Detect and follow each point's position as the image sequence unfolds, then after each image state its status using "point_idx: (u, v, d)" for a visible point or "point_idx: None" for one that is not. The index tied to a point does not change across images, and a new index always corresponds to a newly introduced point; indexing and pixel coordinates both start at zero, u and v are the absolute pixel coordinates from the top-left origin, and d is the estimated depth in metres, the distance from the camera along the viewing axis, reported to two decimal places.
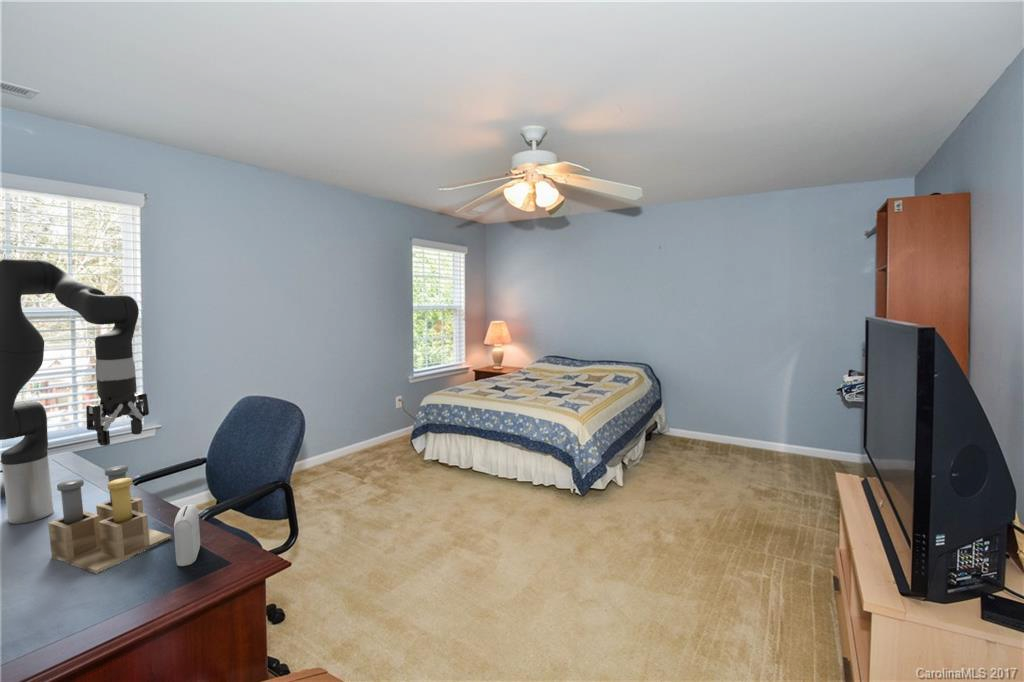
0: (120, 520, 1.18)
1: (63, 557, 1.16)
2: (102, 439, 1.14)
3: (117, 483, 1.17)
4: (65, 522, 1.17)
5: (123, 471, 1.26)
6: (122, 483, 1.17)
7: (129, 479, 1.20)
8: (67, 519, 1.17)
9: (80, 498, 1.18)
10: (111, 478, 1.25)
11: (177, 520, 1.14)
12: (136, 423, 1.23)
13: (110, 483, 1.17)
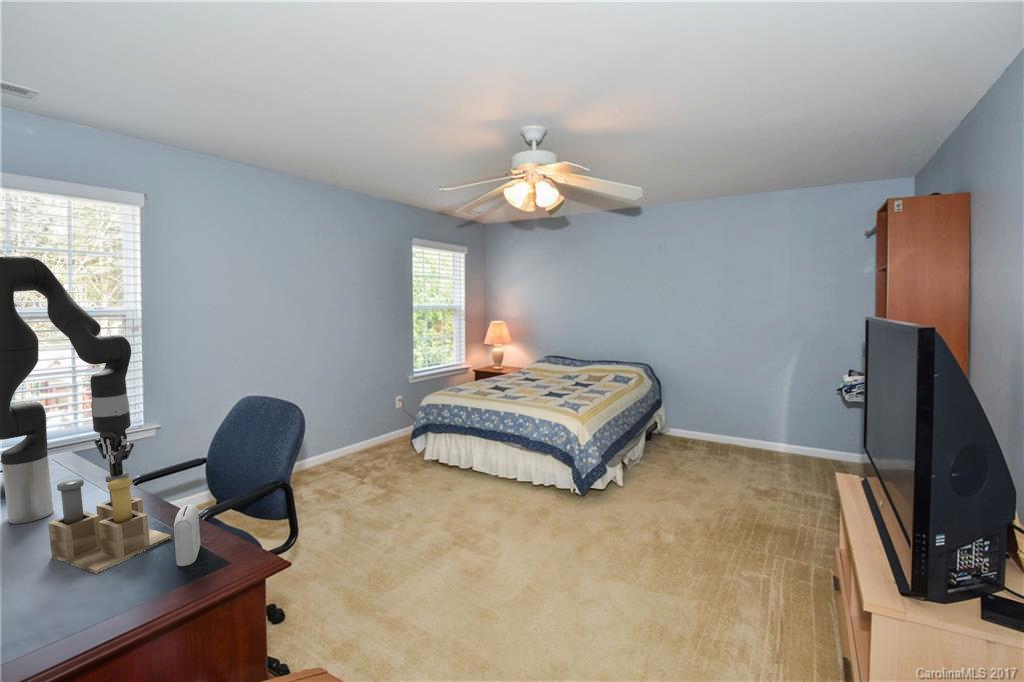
0: (120, 520, 1.18)
1: (63, 557, 1.16)
2: (121, 468, 1.27)
3: (117, 483, 1.17)
4: (65, 522, 1.17)
5: (124, 477, 1.26)
6: (122, 483, 1.17)
7: (129, 479, 1.20)
8: (67, 519, 1.17)
9: (80, 498, 1.18)
10: None
11: (177, 520, 1.14)
12: None
13: (110, 483, 1.17)
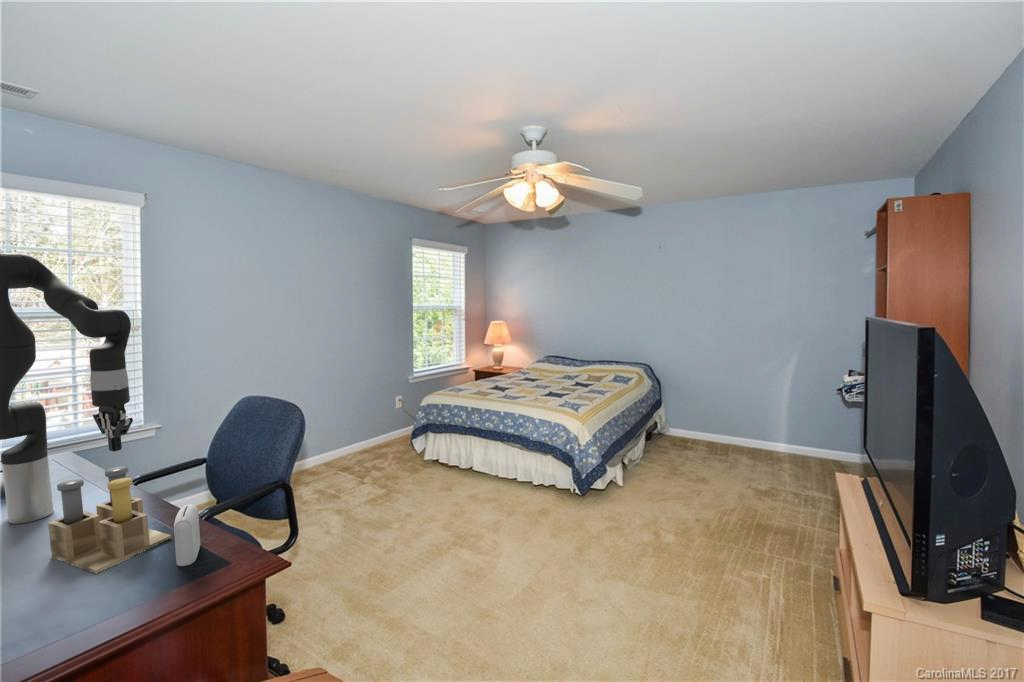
0: (120, 520, 1.18)
1: (63, 557, 1.16)
2: (120, 444, 1.26)
3: (117, 483, 1.17)
4: (65, 522, 1.17)
5: (123, 472, 1.26)
6: (122, 483, 1.17)
7: (129, 479, 1.20)
8: (67, 519, 1.17)
9: (80, 498, 1.18)
10: (111, 479, 1.25)
11: (177, 520, 1.14)
12: None
13: (110, 483, 1.17)
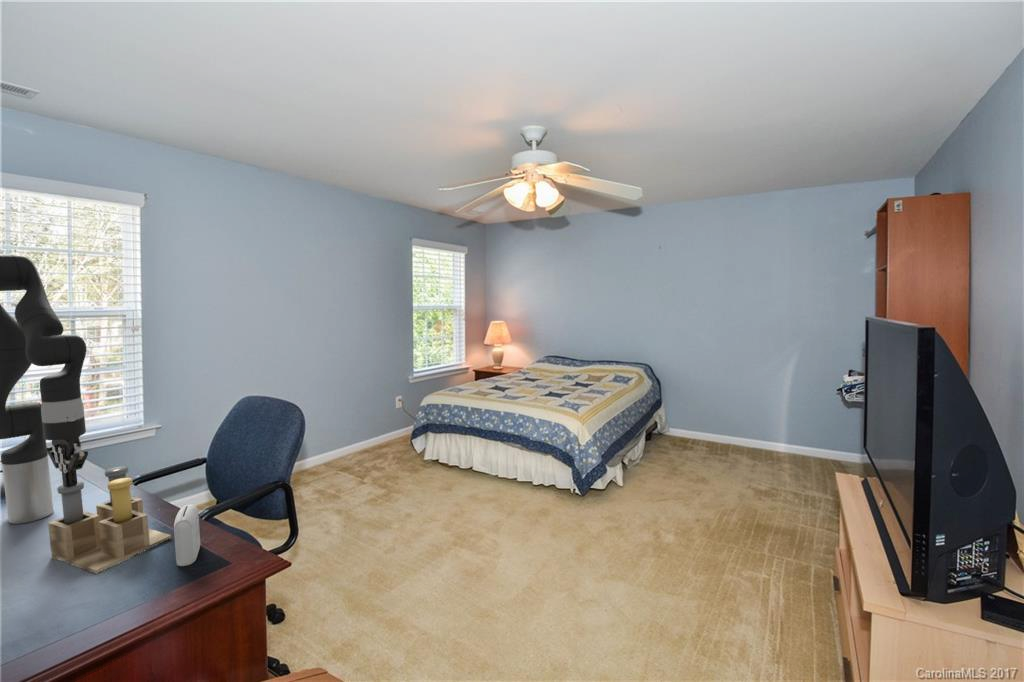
0: (120, 520, 1.18)
1: (63, 557, 1.16)
2: (75, 478, 1.17)
3: (117, 483, 1.17)
4: None
5: (123, 472, 1.26)
6: (122, 483, 1.17)
7: (129, 479, 1.20)
8: (67, 522, 1.17)
9: (80, 501, 1.18)
10: (111, 479, 1.25)
11: (177, 520, 1.14)
12: None
13: (110, 483, 1.17)
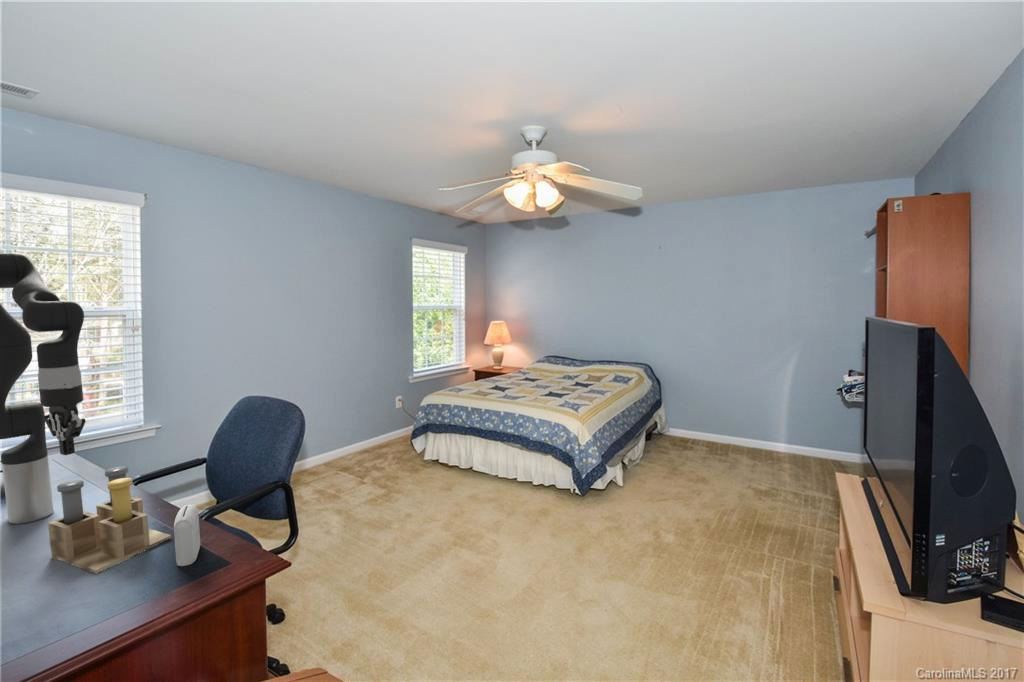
0: (120, 520, 1.18)
1: (63, 557, 1.16)
2: (73, 447, 1.16)
3: (117, 483, 1.17)
4: (65, 523, 1.17)
5: (123, 472, 1.26)
6: (122, 483, 1.17)
7: (129, 479, 1.20)
8: (67, 520, 1.17)
9: (80, 499, 1.18)
10: (111, 479, 1.25)
11: (177, 520, 1.14)
12: None
13: (110, 483, 1.17)
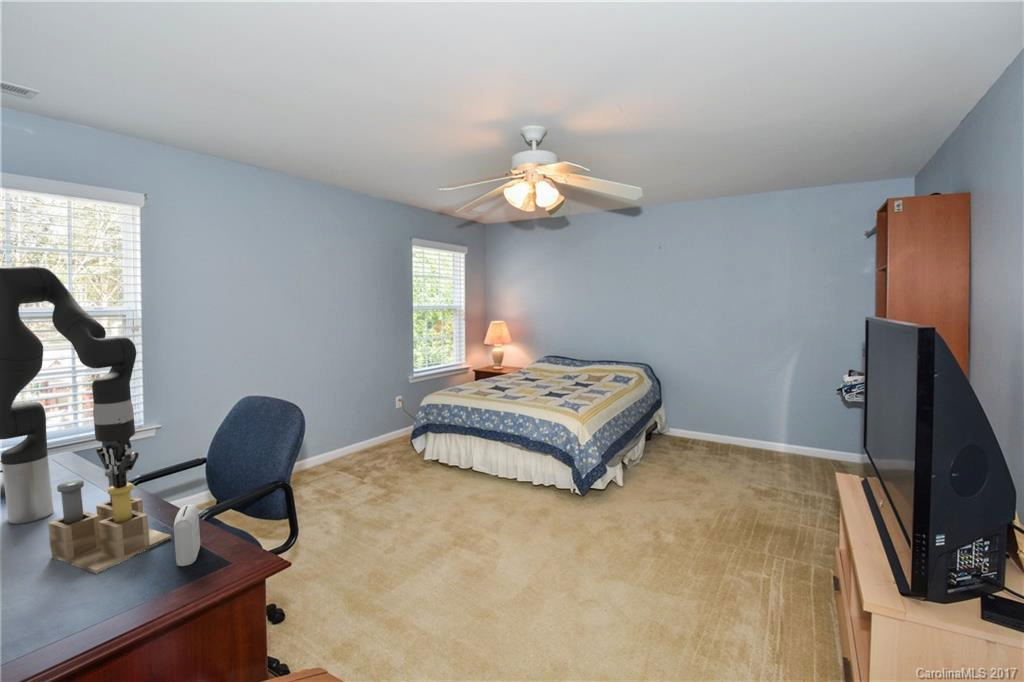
0: None
1: (63, 557, 1.16)
2: (125, 480, 1.18)
3: (118, 488, 1.18)
4: (65, 523, 1.17)
5: None
6: (123, 488, 1.18)
7: (129, 484, 1.20)
8: (67, 520, 1.17)
9: (80, 499, 1.18)
10: (111, 479, 1.25)
11: (177, 520, 1.14)
12: None
13: (110, 488, 1.17)
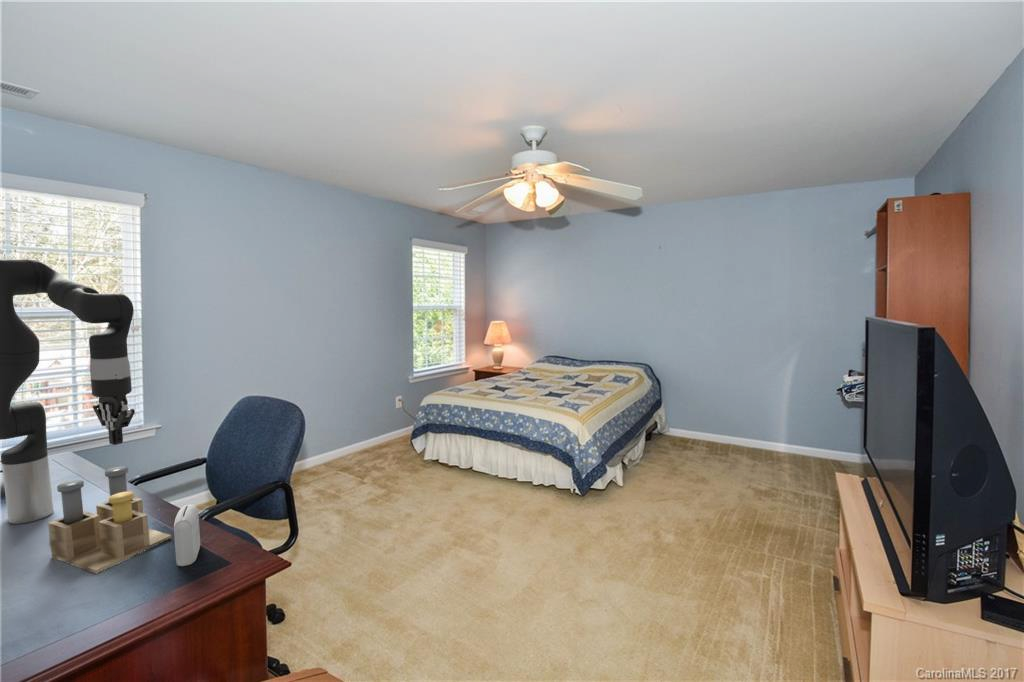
0: None
1: (63, 557, 1.16)
2: (121, 436, 1.19)
3: (119, 497, 1.18)
4: (65, 523, 1.17)
5: (123, 472, 1.26)
6: (123, 497, 1.18)
7: (130, 493, 1.20)
8: (67, 520, 1.17)
9: (80, 499, 1.18)
10: (111, 479, 1.25)
11: (177, 520, 1.14)
12: None
13: (111, 497, 1.18)
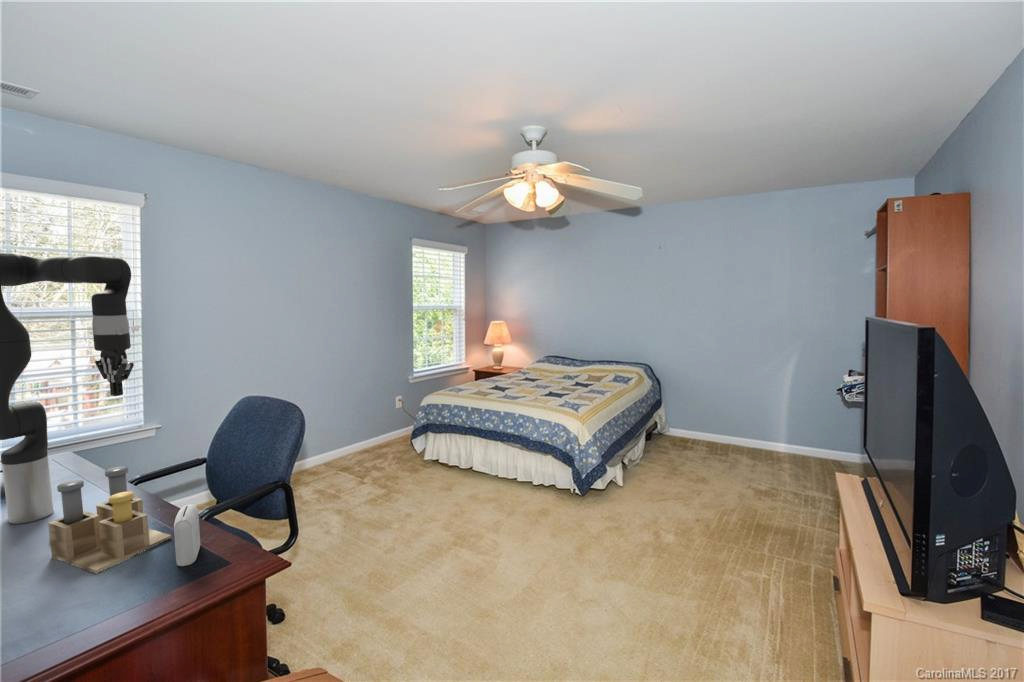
0: None
1: (63, 557, 1.16)
2: (121, 389, 1.30)
3: (119, 497, 1.18)
4: (65, 523, 1.17)
5: (123, 472, 1.26)
6: (123, 497, 1.18)
7: (130, 493, 1.20)
8: (67, 520, 1.17)
9: (80, 499, 1.18)
10: (111, 479, 1.25)
11: (177, 520, 1.14)
12: None
13: (111, 497, 1.18)
